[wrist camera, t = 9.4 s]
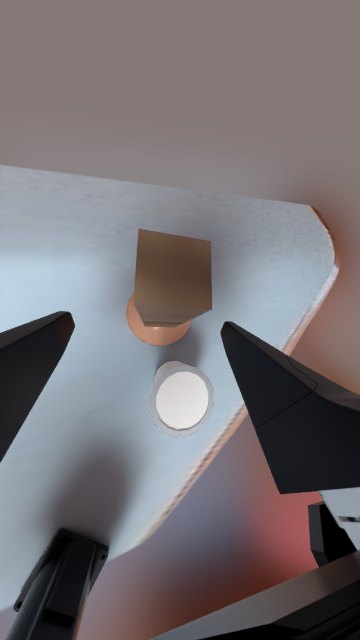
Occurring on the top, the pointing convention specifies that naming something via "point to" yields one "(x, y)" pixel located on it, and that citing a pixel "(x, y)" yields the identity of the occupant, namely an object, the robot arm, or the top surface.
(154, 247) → the walnut block
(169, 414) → the white short cylinder
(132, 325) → the orange flat disc
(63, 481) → the top surface
